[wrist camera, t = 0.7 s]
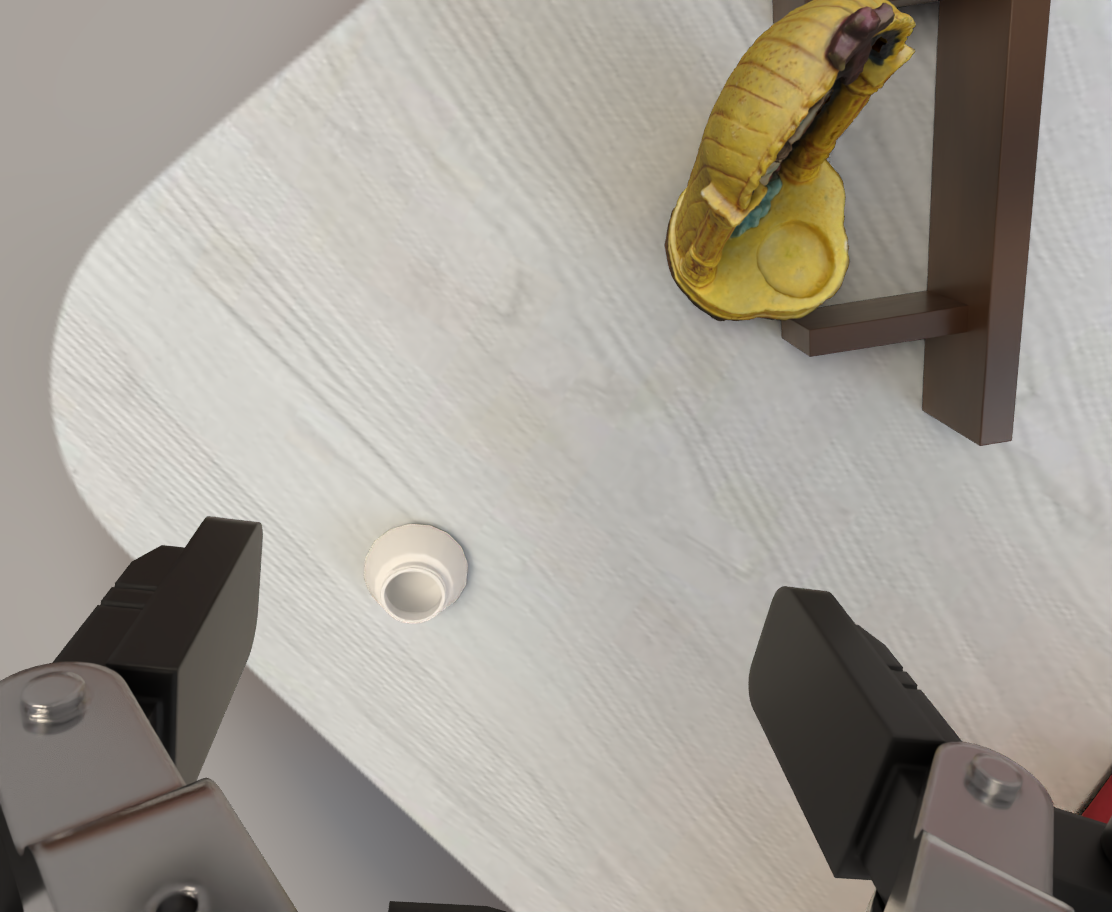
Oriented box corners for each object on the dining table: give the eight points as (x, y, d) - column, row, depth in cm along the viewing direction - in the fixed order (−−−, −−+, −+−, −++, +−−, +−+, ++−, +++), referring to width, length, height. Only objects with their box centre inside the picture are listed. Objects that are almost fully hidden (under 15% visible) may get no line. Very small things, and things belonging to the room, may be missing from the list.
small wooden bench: (767, -152, 31) (819, -201, 26) (983, -180, 31) (1072, -234, 27) (783, 432, 40) (824, 472, 35) (950, 405, 40) (1012, 441, 36)
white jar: (487, 569, 41) (421, 501, 40) (488, 600, 39) (418, 528, 37) (412, 625, 42) (345, 560, 40) (408, 659, 39) (335, 591, 38)
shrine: (600, 87, 34) (689, 55, 20) (785, 7, 33) (1011, -83, 19) (685, 339, 38) (807, 459, 24) (850, 271, 37) (1073, 354, 24)
